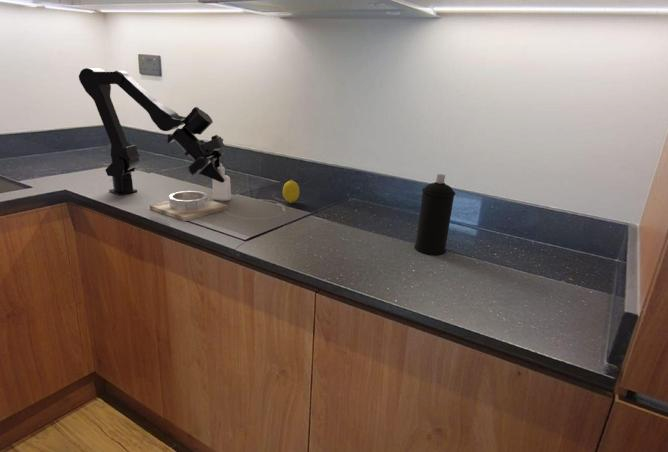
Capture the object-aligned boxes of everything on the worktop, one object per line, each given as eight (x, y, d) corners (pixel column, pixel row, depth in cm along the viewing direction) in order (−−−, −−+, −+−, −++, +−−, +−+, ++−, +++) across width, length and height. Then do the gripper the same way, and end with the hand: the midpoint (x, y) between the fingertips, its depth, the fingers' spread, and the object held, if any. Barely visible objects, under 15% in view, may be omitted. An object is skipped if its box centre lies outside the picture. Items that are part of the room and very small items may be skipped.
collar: (162, 205, 128) (161, 195, 127) (191, 198, 137) (191, 189, 136) (185, 213, 123) (185, 203, 122) (215, 205, 132) (215, 195, 131)
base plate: (149, 209, 128) (149, 205, 128) (193, 198, 141) (193, 195, 140) (184, 221, 120) (184, 217, 120) (227, 209, 133) (227, 205, 132)
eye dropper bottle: (222, 202, 139) (221, 166, 135) (211, 198, 142) (209, 163, 138) (232, 199, 142) (231, 164, 138) (221, 196, 145) (220, 161, 141)
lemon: (296, 206, 140) (297, 182, 137) (280, 204, 141) (280, 180, 138) (300, 201, 145) (301, 179, 142) (285, 200, 146) (285, 177, 143)
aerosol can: (440, 258, 106) (452, 180, 100) (409, 250, 110) (419, 174, 104) (450, 248, 113) (462, 174, 106) (420, 240, 117) (430, 169, 110)
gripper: (196, 131, 125) (234, 170, 129) (217, 124, 143) (249, 159, 146) (172, 155, 128) (209, 193, 132) (195, 146, 146) (227, 179, 149)
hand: (225, 180), depth 140 cm, fingers closed on eye dropper bottle, 3 cm apart
